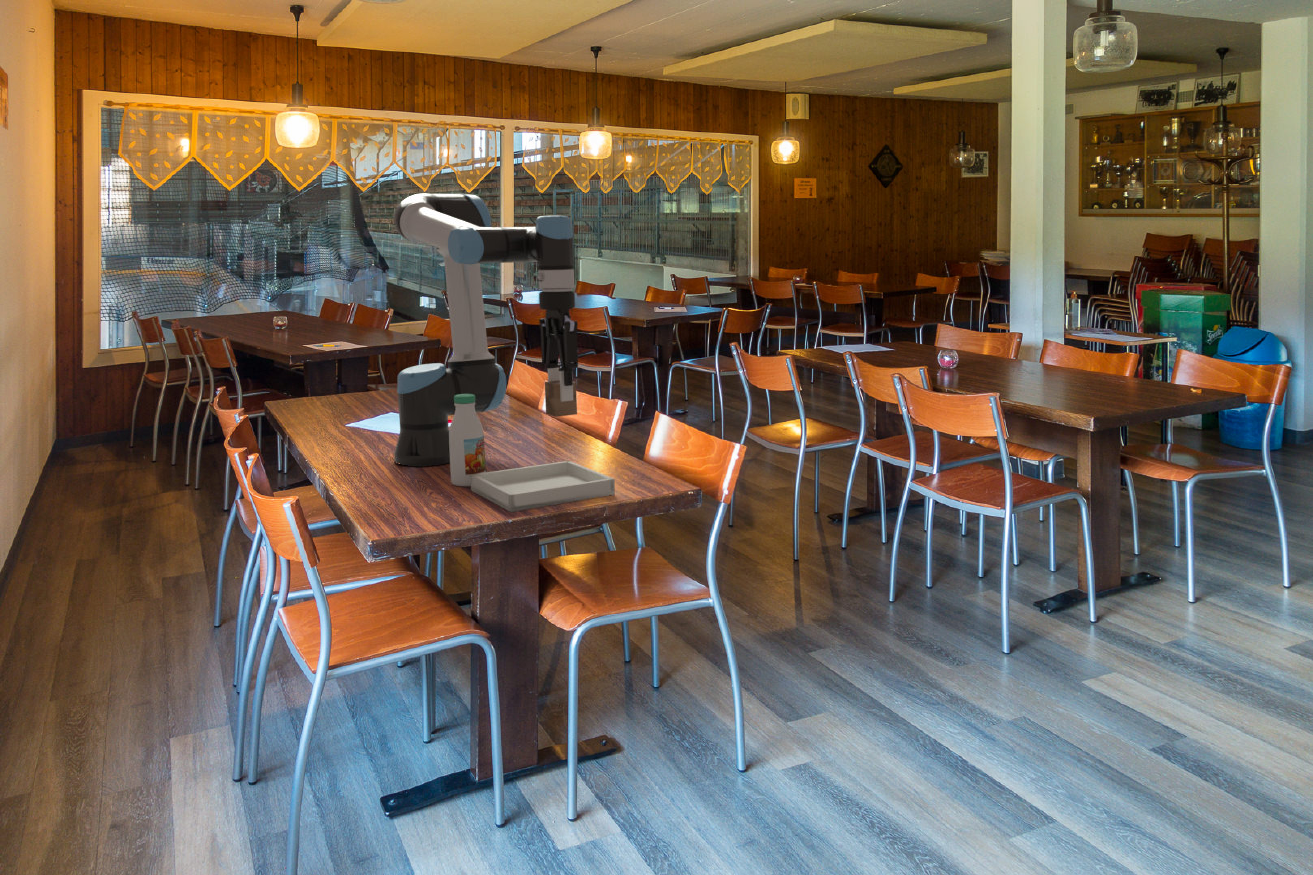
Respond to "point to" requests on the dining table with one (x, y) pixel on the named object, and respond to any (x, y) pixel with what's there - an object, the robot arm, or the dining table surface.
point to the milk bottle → (466, 442)
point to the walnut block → (555, 404)
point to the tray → (541, 485)
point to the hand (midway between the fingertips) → (560, 399)
